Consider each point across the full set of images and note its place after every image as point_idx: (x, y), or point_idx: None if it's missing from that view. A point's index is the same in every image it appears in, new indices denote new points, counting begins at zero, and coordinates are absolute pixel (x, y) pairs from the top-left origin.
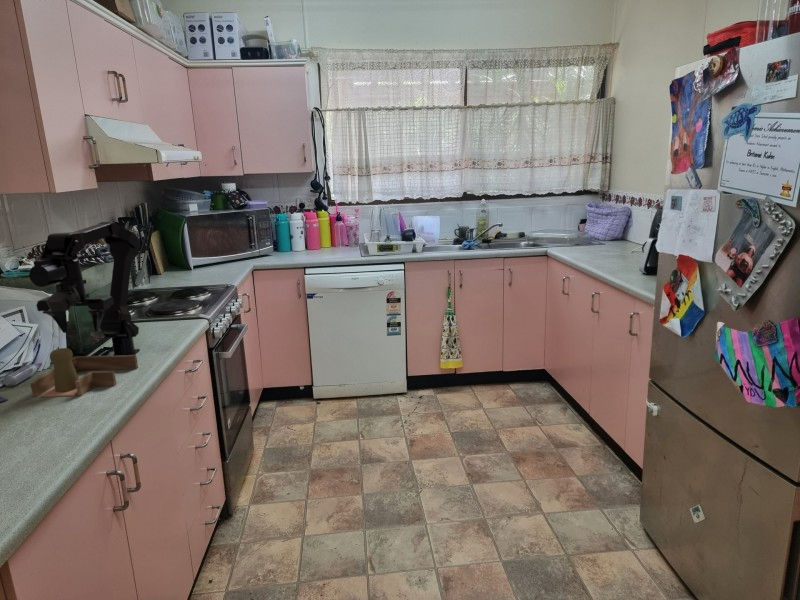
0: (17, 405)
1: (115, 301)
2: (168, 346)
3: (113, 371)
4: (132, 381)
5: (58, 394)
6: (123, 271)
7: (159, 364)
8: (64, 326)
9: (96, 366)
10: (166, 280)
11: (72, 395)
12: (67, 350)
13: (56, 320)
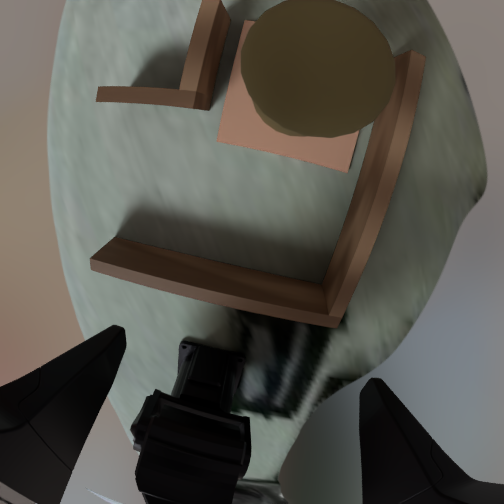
0: (415, 18)
1: None
2: (120, 375)
3: (97, 97)
4: (86, 123)
5: None
6: None
7: (70, 255)
8: (376, 422)
9: (251, 276)
10: None
11: (251, 22)
12: (258, 40)
13: (436, 455)
